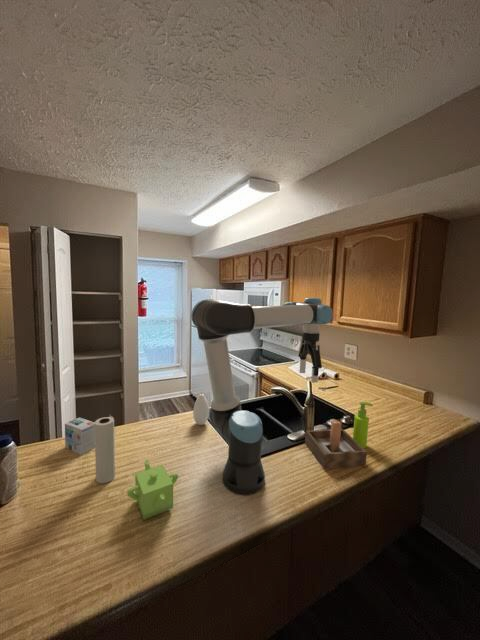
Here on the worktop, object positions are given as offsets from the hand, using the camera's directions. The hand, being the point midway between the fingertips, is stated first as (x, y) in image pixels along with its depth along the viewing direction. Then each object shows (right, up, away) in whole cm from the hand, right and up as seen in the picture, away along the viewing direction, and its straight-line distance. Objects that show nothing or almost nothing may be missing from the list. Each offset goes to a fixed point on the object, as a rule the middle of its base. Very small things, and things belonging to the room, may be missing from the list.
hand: (308, 377), depth 126 cm
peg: (+8, -30, -10) cm, 33 cm away
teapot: (-58, -32, -41) cm, 78 cm away
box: (+8, -30, -10) cm, 33 cm away
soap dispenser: (+23, -30, -3) cm, 38 cm away
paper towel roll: (-79, -29, -29) cm, 89 cm away
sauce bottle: (-51, -26, +11) cm, 58 cm away
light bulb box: (-98, -27, -13) cm, 102 cm away
